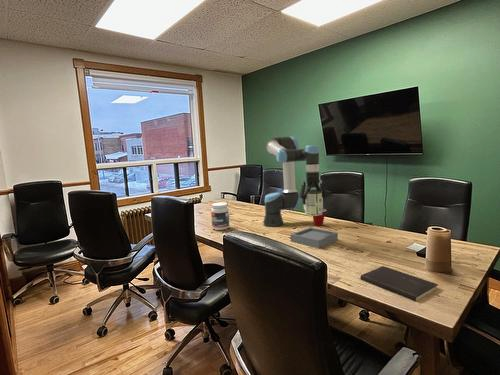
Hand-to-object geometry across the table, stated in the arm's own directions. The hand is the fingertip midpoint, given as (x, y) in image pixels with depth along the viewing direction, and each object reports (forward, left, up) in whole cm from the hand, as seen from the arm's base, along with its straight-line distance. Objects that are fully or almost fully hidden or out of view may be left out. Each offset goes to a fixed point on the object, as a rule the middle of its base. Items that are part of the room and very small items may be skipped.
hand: (313, 208), depth 174 cm
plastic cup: (-18, +31, -20) cm, 41 cm away
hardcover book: (+58, -25, -20) cm, 66 cm away
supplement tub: (-69, -19, -20) cm, 74 cm away
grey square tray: (0, 0, -20) cm, 20 cm away
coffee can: (0, 0, -3) cm, 3 cm away
